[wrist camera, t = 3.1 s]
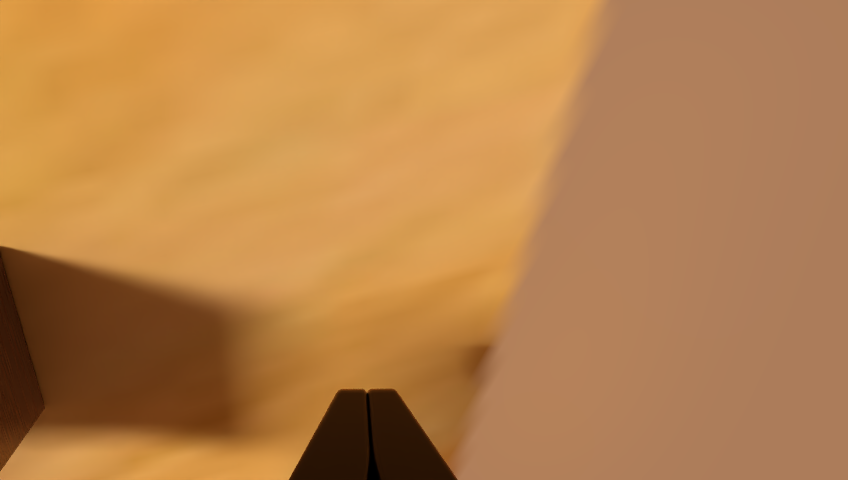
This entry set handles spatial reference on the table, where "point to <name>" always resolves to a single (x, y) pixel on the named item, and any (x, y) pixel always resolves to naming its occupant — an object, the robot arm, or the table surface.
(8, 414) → the dark grey block
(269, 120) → the table surface
